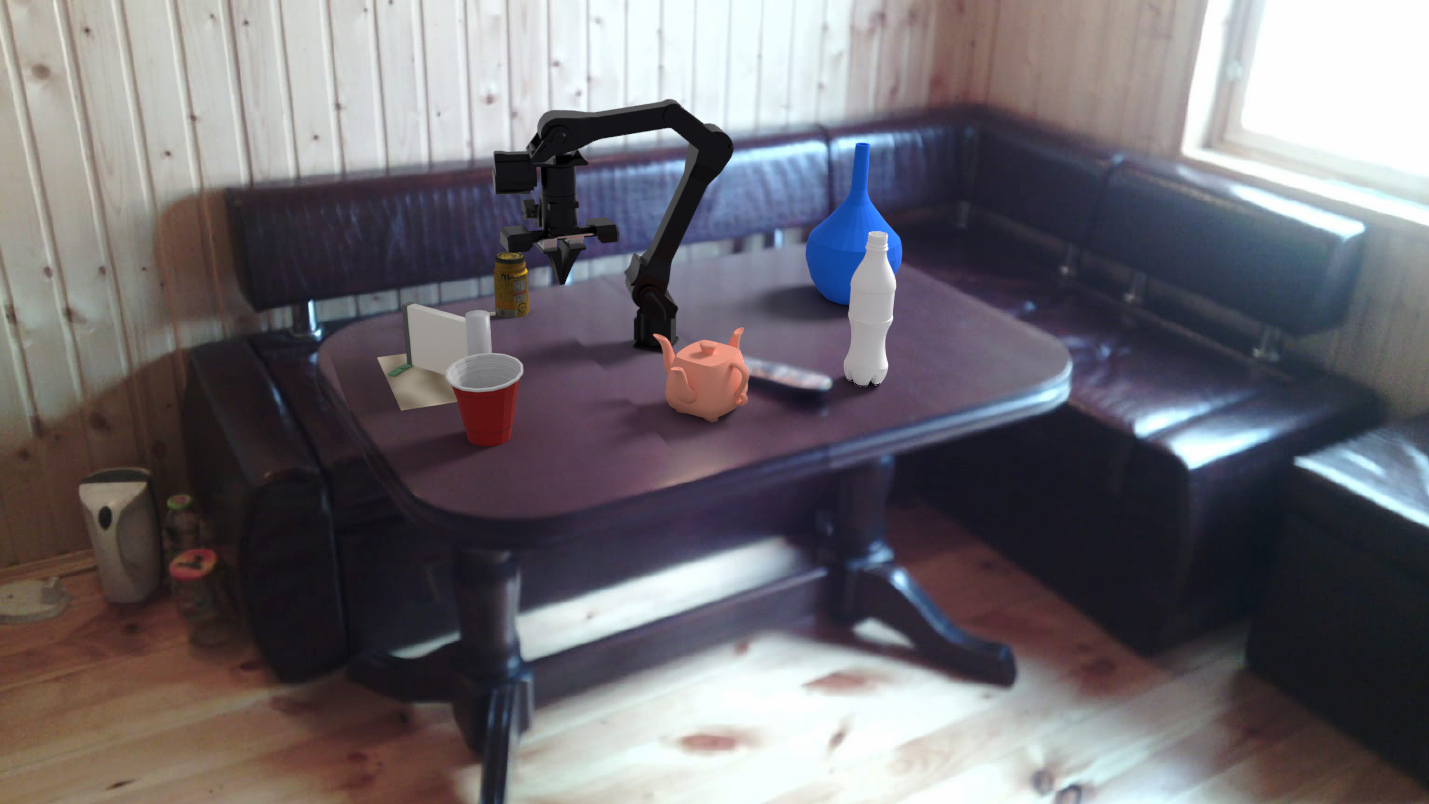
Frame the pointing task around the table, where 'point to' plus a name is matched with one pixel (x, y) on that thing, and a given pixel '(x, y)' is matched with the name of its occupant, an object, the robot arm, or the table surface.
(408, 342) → the white panel grey edge
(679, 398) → the teapot
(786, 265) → the table surface
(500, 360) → the plastic cup
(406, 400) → the board
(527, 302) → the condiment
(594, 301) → the table surface
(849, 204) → the vase
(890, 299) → the water bottle
